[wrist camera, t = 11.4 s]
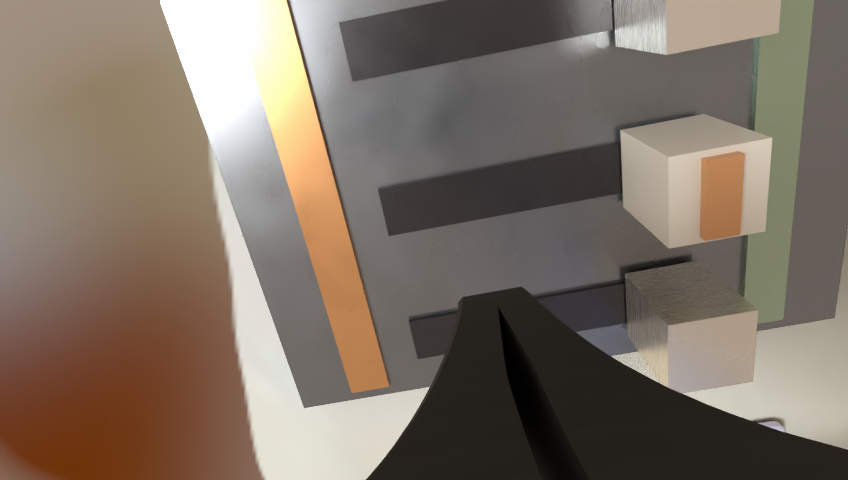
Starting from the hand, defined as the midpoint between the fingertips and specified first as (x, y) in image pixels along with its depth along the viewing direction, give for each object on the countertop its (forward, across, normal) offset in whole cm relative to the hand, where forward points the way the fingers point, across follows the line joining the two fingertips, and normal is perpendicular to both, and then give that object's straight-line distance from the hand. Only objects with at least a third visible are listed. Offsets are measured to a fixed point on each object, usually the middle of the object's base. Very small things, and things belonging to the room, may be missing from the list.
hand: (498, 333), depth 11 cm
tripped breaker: (+8, -7, 0) cm, 11 cm away
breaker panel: (+10, -3, 0) cm, 10 cm away
